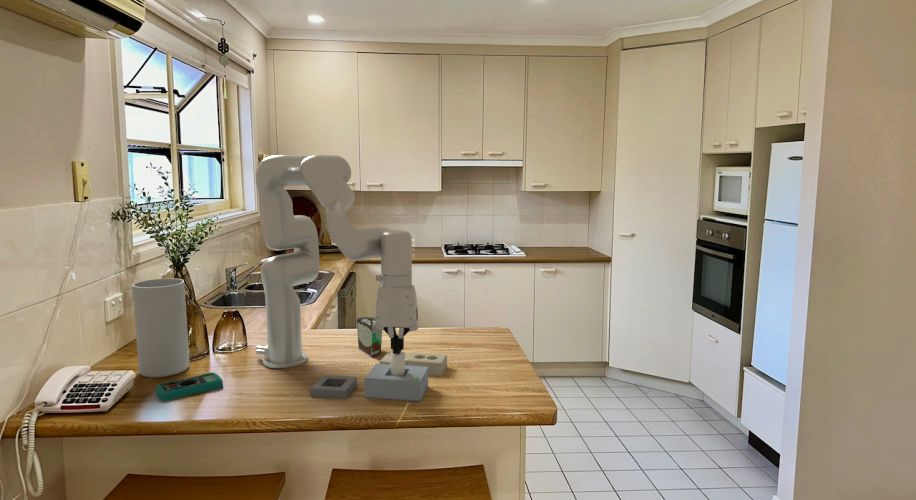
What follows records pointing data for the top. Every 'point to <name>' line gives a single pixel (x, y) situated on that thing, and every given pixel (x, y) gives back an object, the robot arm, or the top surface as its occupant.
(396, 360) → the plug
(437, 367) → the electrical outlet
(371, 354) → the food container
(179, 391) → the digital multimeter
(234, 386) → the top surface
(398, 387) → the port block
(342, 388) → the grey square socket base
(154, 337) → the cylinder vase
